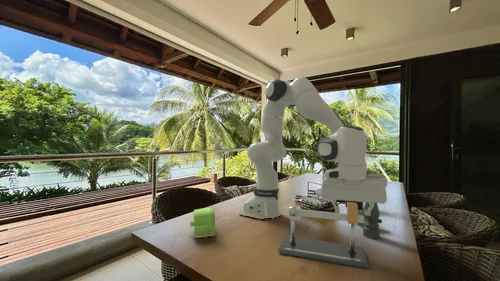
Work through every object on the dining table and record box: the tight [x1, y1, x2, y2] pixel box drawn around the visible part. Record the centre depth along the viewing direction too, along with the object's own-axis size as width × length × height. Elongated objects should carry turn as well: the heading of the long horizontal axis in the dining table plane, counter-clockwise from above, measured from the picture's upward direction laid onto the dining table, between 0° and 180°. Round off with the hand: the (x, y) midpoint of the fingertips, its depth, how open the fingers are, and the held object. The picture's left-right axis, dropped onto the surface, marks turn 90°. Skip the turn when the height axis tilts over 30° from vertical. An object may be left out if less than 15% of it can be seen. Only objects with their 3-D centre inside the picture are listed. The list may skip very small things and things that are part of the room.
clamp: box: [357, 210, 383, 228], centre depth 106 cm, size 12×6×9 cm, turn 3°
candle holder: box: [362, 202, 381, 240], centre depth 95 cm, size 6×6×25 cm
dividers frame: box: [288, 205, 364, 244], centre depth 82 cm, size 26×6×14 cm, turn 70°
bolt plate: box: [278, 235, 369, 270], centre depth 81 cm, size 28×12×2 cm, turn 70°
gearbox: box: [190, 207, 216, 237], centre depth 98 cm, size 18×10×10 cm, turn 14°
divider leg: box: [346, 202, 359, 252], centre depth 78 cm, size 3×5×16 cm, turn 160°
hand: (352, 213), depth 77 cm, fingers open, 8 cm apart
